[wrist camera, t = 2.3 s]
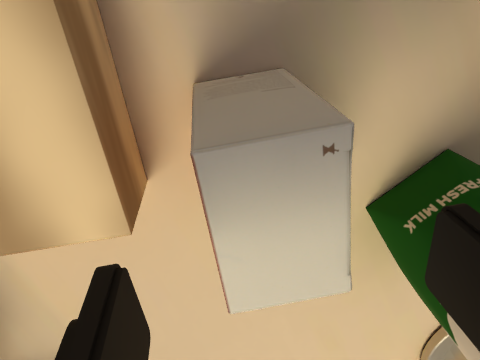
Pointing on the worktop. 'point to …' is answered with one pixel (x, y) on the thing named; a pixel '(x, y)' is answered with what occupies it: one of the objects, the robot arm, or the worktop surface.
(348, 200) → the small box
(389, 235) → the milk carton
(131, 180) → the beech block
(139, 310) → the robot arm
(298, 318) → the worktop surface
